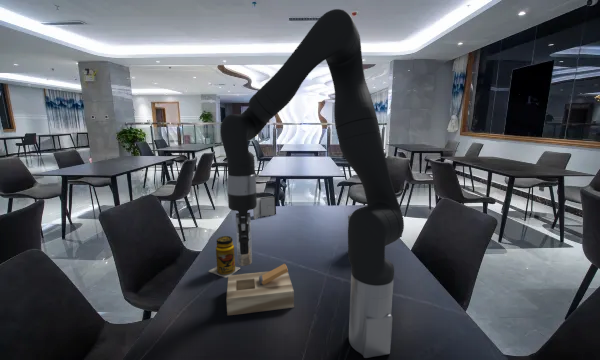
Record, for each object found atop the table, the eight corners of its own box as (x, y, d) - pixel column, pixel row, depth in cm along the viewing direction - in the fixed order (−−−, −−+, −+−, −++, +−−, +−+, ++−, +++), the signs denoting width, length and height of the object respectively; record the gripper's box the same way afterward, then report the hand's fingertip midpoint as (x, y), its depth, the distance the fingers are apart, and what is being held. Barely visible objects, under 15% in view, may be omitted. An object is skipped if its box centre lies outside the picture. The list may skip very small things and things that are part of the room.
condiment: (226, 278, 95) (224, 244, 93) (208, 271, 99) (205, 239, 97) (241, 268, 102) (239, 236, 99) (223, 263, 106) (221, 232, 103)
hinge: (254, 219, 153) (253, 201, 151) (250, 216, 157) (249, 199, 155) (277, 215, 160) (276, 197, 158) (272, 212, 164) (272, 195, 163)
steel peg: (252, 265, 80) (250, 224, 77) (237, 266, 79) (235, 225, 77) (251, 258, 84) (250, 219, 81) (237, 259, 83) (235, 220, 81)
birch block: (293, 307, 80) (293, 291, 79) (227, 315, 77) (226, 298, 76) (287, 284, 92) (287, 269, 91) (229, 290, 88) (228, 275, 87)
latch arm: (261, 286, 82) (258, 282, 82) (260, 280, 85) (258, 276, 85) (288, 271, 83) (286, 267, 82) (286, 266, 86) (284, 262, 85)
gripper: (257, 196, 71) (259, 260, 75) (255, 184, 85) (256, 239, 88) (226, 198, 70) (229, 263, 73) (228, 185, 83) (231, 241, 87)
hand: (244, 249), depth 81 cm, fingers closed on steel peg, 4 cm apart
